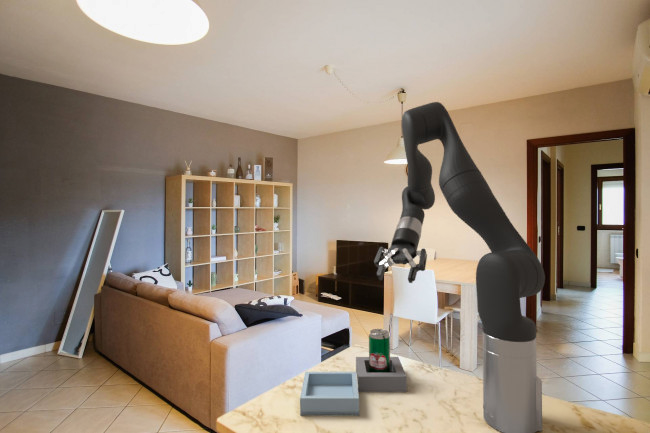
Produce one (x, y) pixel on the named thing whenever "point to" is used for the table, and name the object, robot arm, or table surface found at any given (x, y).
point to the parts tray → (329, 394)
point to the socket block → (381, 377)
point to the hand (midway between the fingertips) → (394, 279)
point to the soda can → (379, 351)
